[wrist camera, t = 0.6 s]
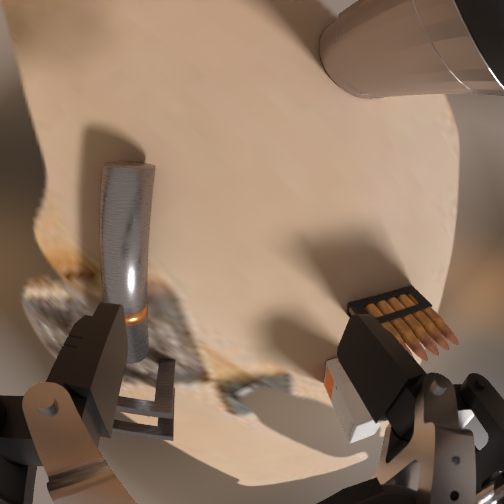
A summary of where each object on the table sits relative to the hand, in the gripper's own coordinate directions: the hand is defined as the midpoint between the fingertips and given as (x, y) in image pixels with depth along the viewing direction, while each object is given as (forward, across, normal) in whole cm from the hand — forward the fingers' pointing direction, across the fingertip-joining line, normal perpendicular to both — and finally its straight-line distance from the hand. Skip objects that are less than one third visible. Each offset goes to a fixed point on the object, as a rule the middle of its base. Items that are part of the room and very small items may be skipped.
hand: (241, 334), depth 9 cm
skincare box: (+19, -20, +22) cm, 35 cm away
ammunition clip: (+18, -23, +9) cm, 31 cm away
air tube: (+18, +8, +6) cm, 21 cm away
